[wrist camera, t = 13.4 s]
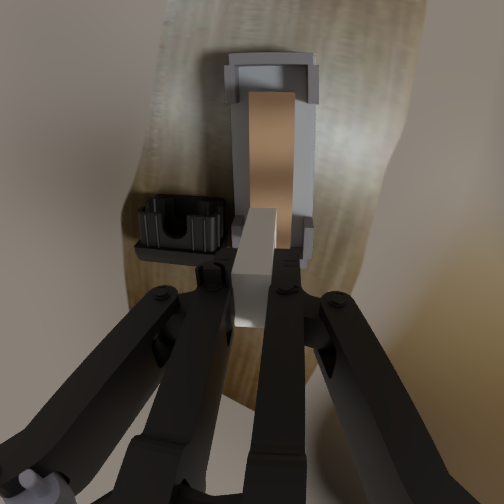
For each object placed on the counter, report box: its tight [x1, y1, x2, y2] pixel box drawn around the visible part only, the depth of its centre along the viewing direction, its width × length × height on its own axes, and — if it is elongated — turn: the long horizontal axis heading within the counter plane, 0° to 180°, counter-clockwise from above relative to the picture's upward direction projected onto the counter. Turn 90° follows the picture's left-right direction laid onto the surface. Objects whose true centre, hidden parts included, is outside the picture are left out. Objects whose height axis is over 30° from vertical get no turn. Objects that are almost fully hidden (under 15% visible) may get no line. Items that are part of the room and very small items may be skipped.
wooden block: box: [249, 91, 295, 249], centre depth 31 cm, size 16×4×6 cm, turn 1°
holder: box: [224, 52, 319, 269], centre depth 33 cm, size 24×9×4 cm, turn 1°
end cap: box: [134, 194, 228, 266], centre depth 37 cm, size 10×7×7 cm
